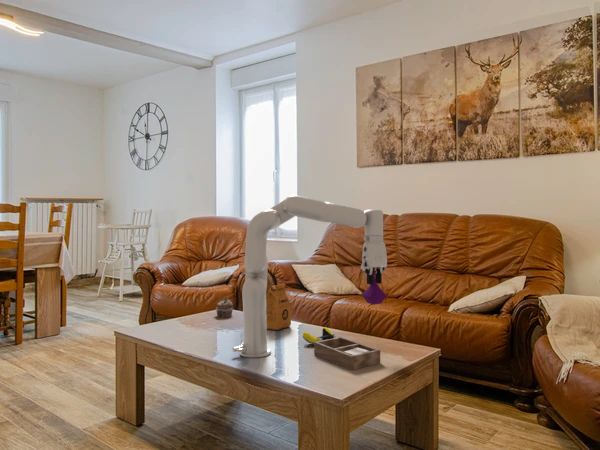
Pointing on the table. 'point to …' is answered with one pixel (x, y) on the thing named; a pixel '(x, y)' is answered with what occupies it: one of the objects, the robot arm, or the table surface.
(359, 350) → the upper offcut
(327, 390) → the table surface
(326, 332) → the gaming controller
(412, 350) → the table surface
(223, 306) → the cupcake
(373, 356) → the divided wooden tray
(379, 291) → the perfume bottle
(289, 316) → the coffee package
